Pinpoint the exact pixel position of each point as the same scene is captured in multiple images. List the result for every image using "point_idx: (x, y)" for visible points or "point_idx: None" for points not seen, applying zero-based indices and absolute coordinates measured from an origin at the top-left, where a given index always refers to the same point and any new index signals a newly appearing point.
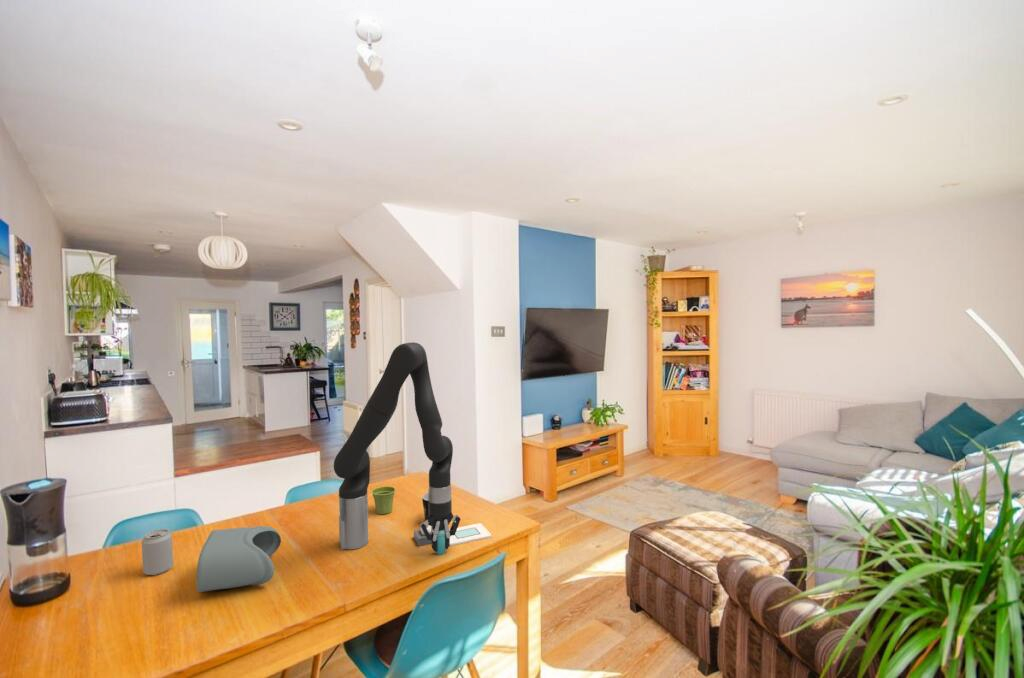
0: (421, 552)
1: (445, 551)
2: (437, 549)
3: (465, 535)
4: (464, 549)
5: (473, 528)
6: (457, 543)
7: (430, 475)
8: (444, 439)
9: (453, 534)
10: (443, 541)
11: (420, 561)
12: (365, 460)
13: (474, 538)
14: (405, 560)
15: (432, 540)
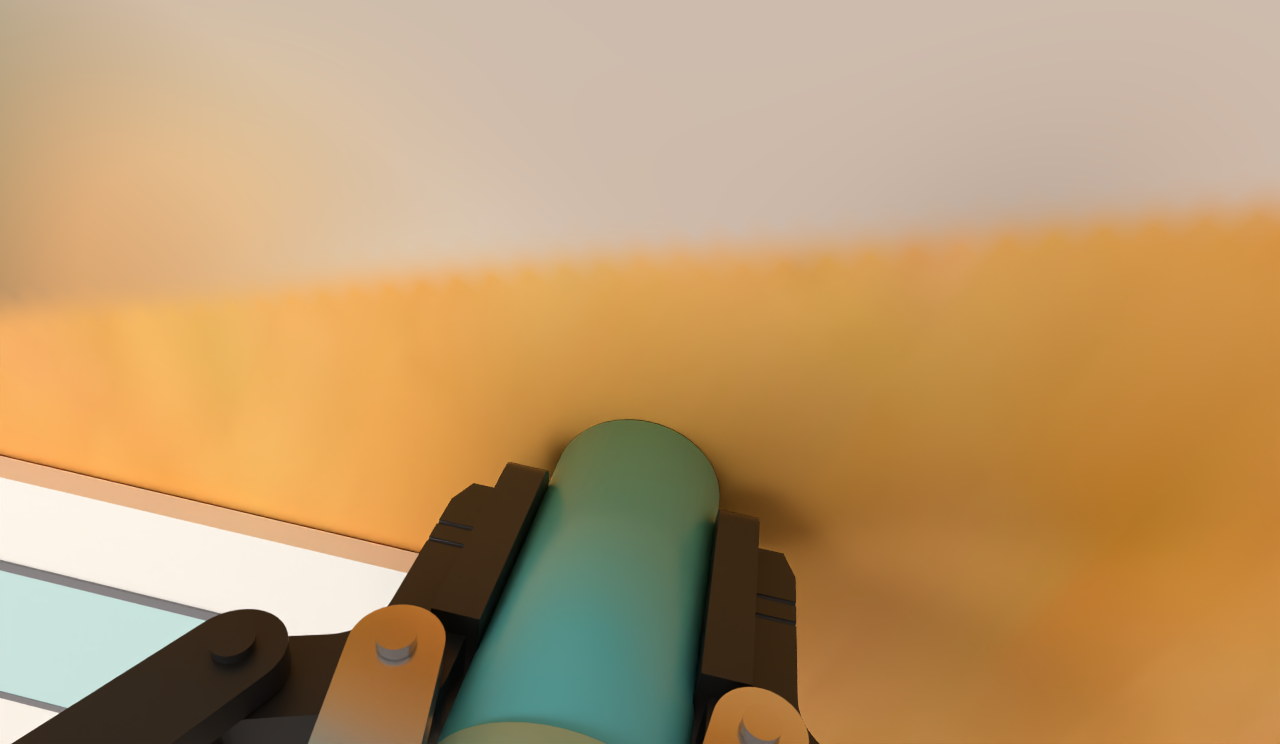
0: (883, 657)
1: (562, 457)
2: (705, 528)
3: (141, 625)
4: (248, 345)
5: (12, 689)
6: (304, 538)
7: None
8: None
9: (250, 625)
10: (559, 589)
11: (1085, 462)
12: None
13: (24, 494)
14: (1252, 627)
15: (797, 731)
